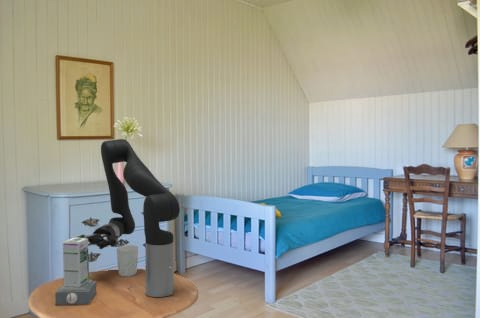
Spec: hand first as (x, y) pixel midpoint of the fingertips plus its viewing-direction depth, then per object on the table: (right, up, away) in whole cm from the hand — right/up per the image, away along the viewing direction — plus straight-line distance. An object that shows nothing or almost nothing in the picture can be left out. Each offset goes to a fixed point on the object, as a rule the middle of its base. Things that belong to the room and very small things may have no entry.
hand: (88, 245), depth 150 cm
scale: (-1, -15, -8) cm, 17 cm away
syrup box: (-1, -11, -8) cm, 14 cm away
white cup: (+9, -14, +18) cm, 25 cm away
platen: (-1, -11, -8) cm, 14 cm away
